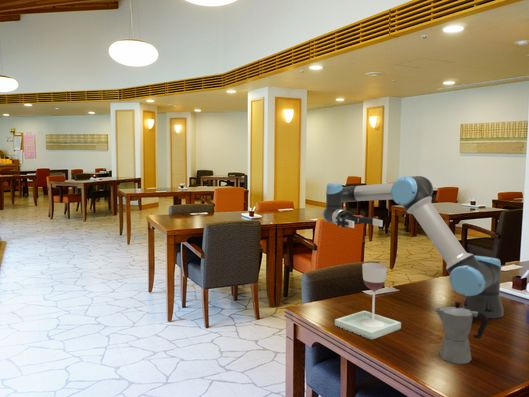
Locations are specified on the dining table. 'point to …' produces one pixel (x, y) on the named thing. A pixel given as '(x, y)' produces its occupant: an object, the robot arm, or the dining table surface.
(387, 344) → the dining table surface
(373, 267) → the wineglass
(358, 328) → the tray
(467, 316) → the coffeepot
